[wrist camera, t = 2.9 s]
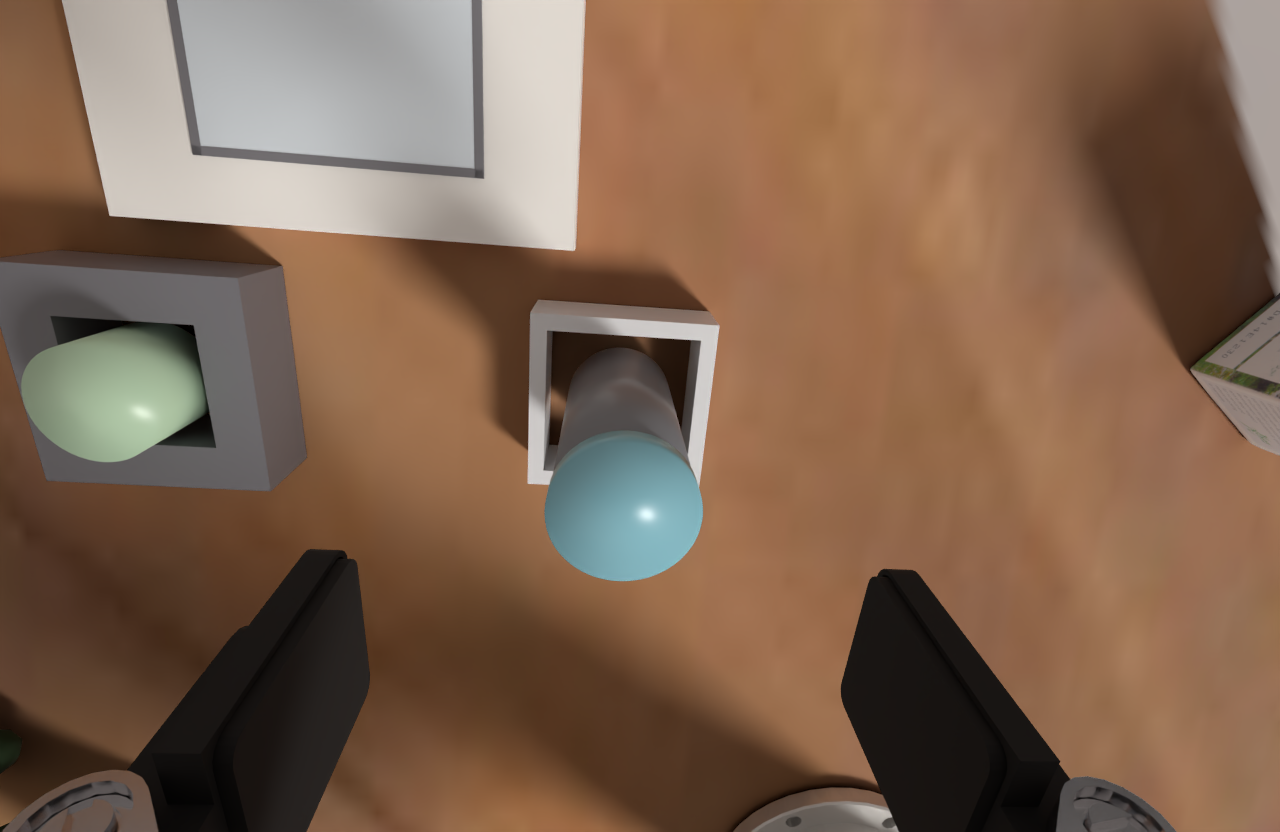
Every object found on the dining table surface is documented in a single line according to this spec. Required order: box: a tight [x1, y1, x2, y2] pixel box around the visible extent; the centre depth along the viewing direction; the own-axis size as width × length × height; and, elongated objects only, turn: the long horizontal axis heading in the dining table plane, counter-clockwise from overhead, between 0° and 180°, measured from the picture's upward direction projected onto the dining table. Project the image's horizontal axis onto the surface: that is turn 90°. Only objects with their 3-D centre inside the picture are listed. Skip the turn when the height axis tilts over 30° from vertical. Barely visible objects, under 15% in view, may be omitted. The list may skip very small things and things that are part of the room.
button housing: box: [0, 250, 307, 491], centre depth 23 cm, size 8×8×3 cm
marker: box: [545, 348, 703, 581], centre depth 21 cm, size 4×4×10 cm
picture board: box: [62, 0, 586, 251], centre depth 20 cm, size 16×11×1 cm
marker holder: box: [528, 300, 719, 487], centre depth 24 cm, size 7×7×2 cm
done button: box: [21, 321, 209, 462], centre depth 21 cm, size 4×4×4 cm
